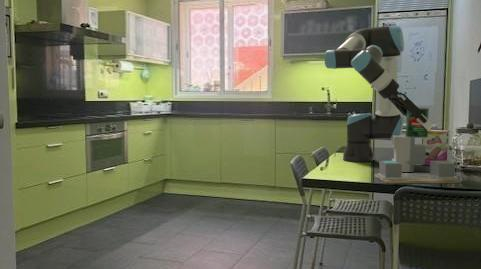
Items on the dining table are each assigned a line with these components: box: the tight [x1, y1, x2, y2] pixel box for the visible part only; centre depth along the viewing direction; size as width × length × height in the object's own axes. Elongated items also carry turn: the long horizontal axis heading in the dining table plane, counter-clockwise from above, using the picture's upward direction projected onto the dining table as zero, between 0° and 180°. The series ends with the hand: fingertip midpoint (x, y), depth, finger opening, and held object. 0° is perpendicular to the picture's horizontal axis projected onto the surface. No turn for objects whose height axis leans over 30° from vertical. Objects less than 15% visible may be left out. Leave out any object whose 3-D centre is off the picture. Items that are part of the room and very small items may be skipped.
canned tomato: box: [405, 107, 430, 139], centre depth 179 cm, size 8×8×11 cm
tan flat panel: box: [375, 172, 459, 180], centre depth 181 cm, size 10×28×1 cm, turn 90°
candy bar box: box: [420, 129, 451, 167], centre depth 216 cm, size 11×5×16 cm, turn 57°
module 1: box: [378, 160, 402, 177], centre depth 181 cm, size 8×6×5 cm
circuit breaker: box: [391, 135, 429, 173], centre depth 201 cm, size 8×14×15 cm, turn 78°
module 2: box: [429, 161, 456, 177], centre depth 181 cm, size 8×6×5 cm
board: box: [374, 173, 462, 184], centre depth 181 cm, size 14×28×1 cm, turn 90°
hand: (426, 127), depth 179 cm, fingers closed on canned tomato, 8 cm apart
